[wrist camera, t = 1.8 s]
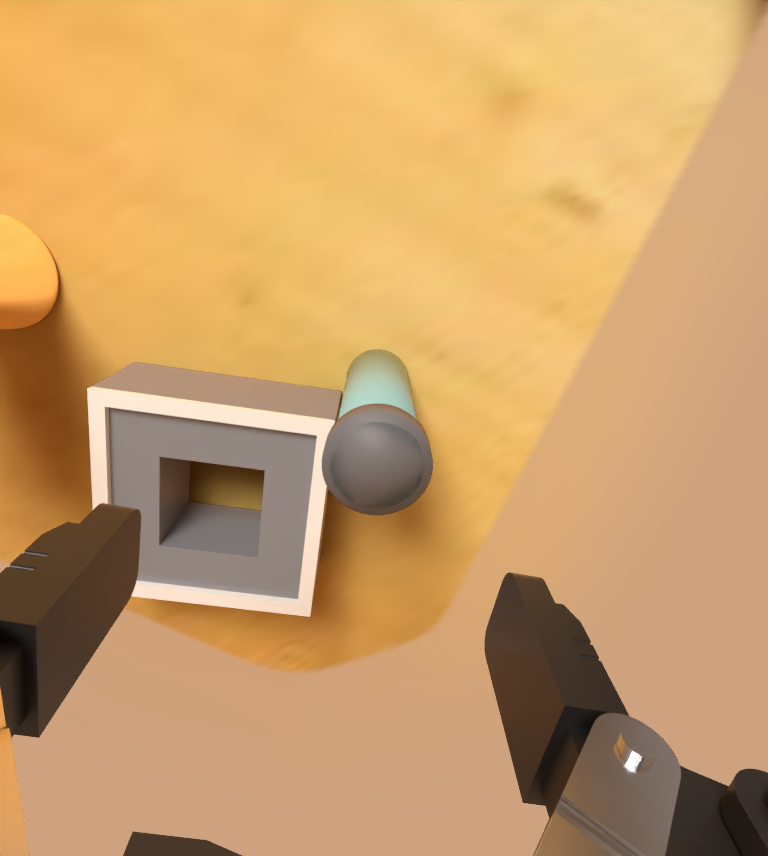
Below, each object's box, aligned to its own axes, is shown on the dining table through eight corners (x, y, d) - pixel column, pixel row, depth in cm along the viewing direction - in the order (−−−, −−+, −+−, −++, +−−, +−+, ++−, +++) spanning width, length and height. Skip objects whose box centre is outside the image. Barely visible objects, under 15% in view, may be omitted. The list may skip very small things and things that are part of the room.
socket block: (341, 391, 32) (334, 422, 27) (319, 561, 36) (310, 616, 31) (134, 361, 31) (87, 388, 26) (136, 539, 35) (96, 592, 30)
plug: (419, 349, 31) (442, 422, 20) (406, 418, 32) (422, 521, 21) (346, 339, 31) (328, 406, 19) (337, 408, 32) (316, 507, 21)
